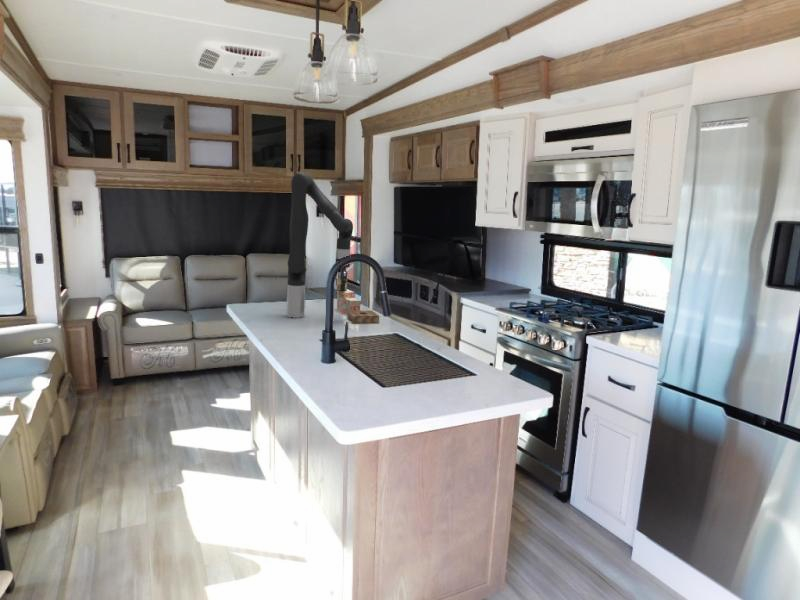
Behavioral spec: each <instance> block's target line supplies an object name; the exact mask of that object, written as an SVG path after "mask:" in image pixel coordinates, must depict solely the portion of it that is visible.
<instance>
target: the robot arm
mask: <svg viewBox="0 0 800 600" xmlns="http://www.w3.org/2000/svg"><path fill="white" fill-rule="evenodd" d="M290 182H291V207H290V221H289V222H290V223H289V241H290V243H289V245H290V246H289V255H288V259H287V294H286V317H287V318H291V317H293V319H299V318H300V317H301V318H304V317H305V312H306V311H305V307H306V305H305V304H306V303H305V302H306V278H307V277H306V271H307V269H306V268H307V264H306V263H307V262H306V258H305V246H306V240H307V238H308V237H307V236H308V230H309V213H308V210H307V208H308V207H307V204H306V195H308V196H309V197H310V198H311V199H312V200H313V201H314V202H315V205H316V206H317V207H318V209H319V210H320V212H321V213H322V214H323V215H324V216H325V217H326V219H328V220H329V221H330V223H331V224H332V226H333V228H334V229H336V230H337V232H339V236H338V238H337V239H336V249H335V250H336V251H335V263H336V262H337V261H339V260H340V259H341V258H343V257H346V256H349V255H350V256H351V240H352V237H353V232H354V224H353V222H352V220H351V219H349V218H344V217H343V215H341V211H340V210H339V208H338V207H336V205H335V204H333V202H331V200H330V199H329V198H328V197H327V195H325V194H324V193H323V192H322V190H321V189H320V187H318V185H317V183H316V182H315V180H314V179H313V178H312V176H310V175H309V174H308V173H303V172H297V173H294V175H293V176H292V178H291V181H290ZM350 267H351V263H350V264H348V265H346V266H344V267H343V268H342V269H341V270H340V272H339V273H338V272H337V278H340V280H341V282H340V283H341V288H340V290H341V291H345V284H346V283H347V284H348V271H347V269H346V268H350ZM343 279H344V281H343Z"/></svg>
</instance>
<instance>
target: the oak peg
mask: <svg viewBox="0 0 800 600" xmlns="http://www.w3.org/2000/svg"><path fill="white" fill-rule="evenodd" d="M343 281H344V279H343ZM340 282H341V280H340V278H338V277H337V279H336V291H338V295H339V298H344V294H345V291H347V289H348V282H347V283H346V284H345V291H341V290H340V288H341V283H340Z"/></svg>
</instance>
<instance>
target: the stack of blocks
mask: <svg viewBox="0 0 800 600" xmlns="http://www.w3.org/2000/svg"><path fill="white" fill-rule="evenodd" d="M336 291H337V290H336ZM336 297H337V298H336V301H337V302H336V308H337V309H336V310H339V312H340V313H342V314H343V315H345V314H346V315H345V316H347V315H348V311H361V300H360V299H358V298H356V294H355V291H353V290H350V289H348V288H347V291H345V294H344V298H339V295H338V291H337V296H336Z"/></svg>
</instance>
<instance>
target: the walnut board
mask: <svg viewBox="0 0 800 600" xmlns="http://www.w3.org/2000/svg"><path fill="white" fill-rule="evenodd" d="M346 316H347V317H346V318H347V319H348V320H349V321H350V322H351V323H352V325H353V324H354V325H356V324H359V325H360V324H364V325H365V324H380V315H379V314H378V313H376V312H375V311H374V310H360V311H348V315H346Z"/></svg>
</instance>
